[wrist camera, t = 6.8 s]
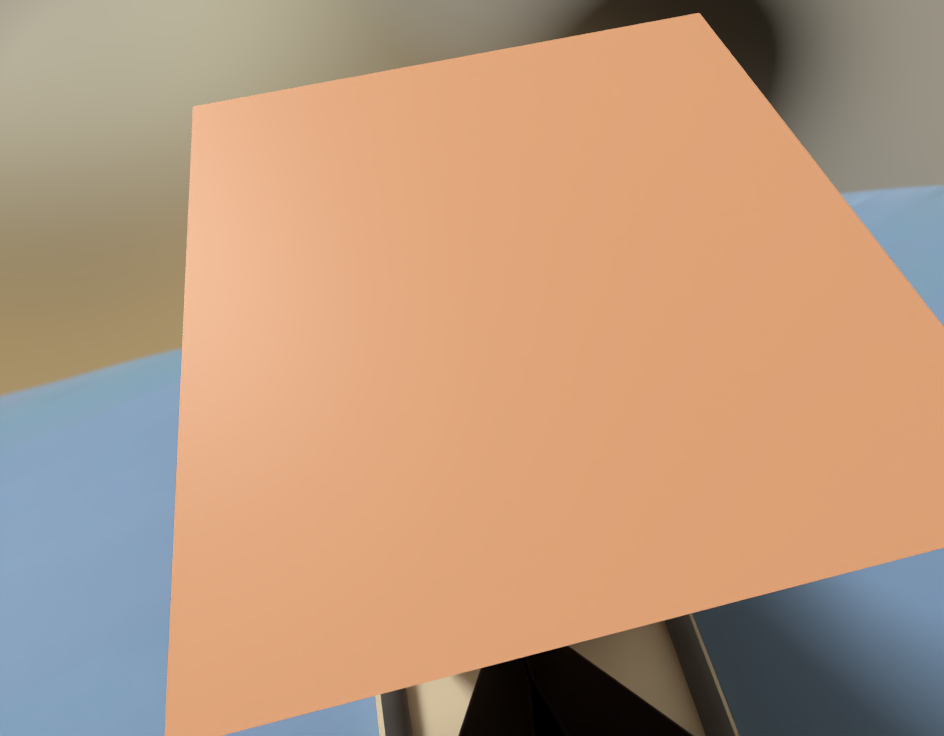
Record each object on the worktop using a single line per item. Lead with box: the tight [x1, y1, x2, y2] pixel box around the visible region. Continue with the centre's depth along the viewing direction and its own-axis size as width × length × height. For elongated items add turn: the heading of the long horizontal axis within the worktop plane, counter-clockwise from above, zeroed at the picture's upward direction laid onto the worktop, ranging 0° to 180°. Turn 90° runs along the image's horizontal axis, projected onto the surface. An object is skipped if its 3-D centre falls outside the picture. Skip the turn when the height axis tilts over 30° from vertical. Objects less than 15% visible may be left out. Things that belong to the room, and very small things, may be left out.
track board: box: [375, 613, 739, 736], centre depth 13 cm, size 16×8×2 cm, turn 13°
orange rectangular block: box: [165, 13, 944, 736], centre depth 9 cm, size 5×5×11 cm
